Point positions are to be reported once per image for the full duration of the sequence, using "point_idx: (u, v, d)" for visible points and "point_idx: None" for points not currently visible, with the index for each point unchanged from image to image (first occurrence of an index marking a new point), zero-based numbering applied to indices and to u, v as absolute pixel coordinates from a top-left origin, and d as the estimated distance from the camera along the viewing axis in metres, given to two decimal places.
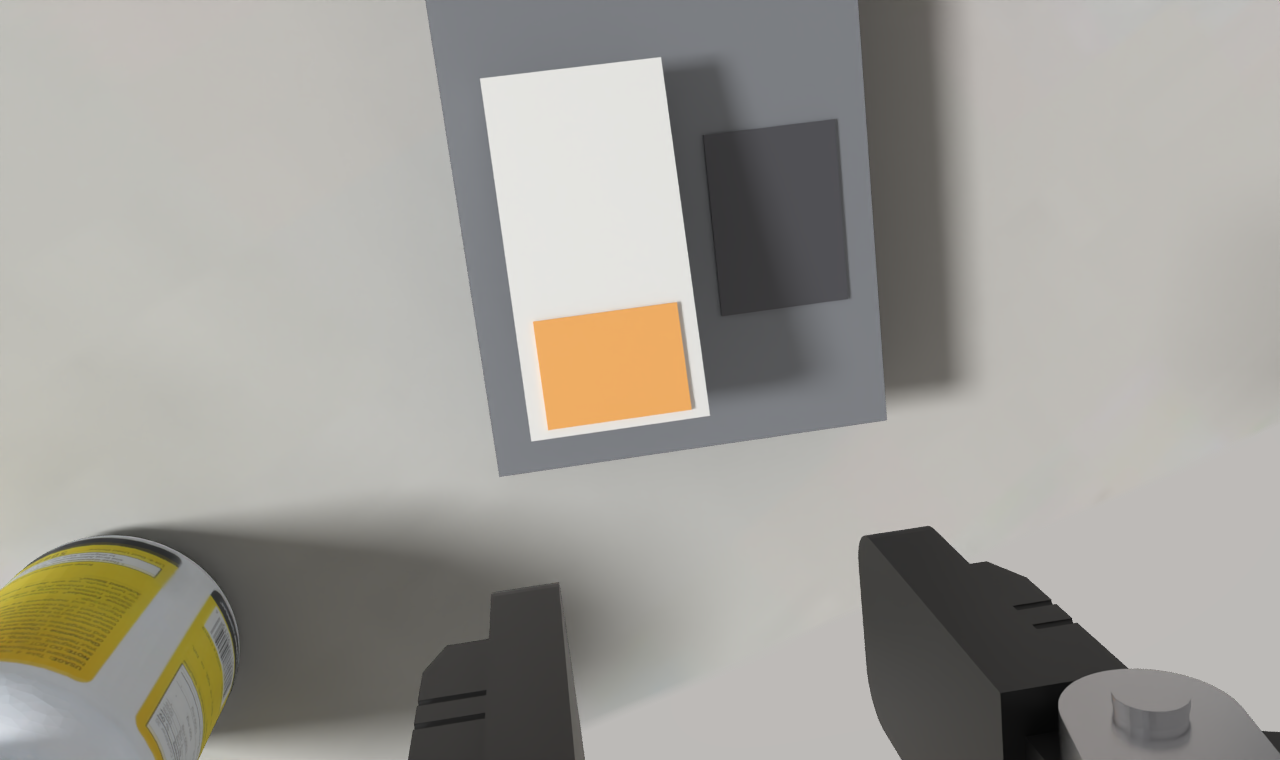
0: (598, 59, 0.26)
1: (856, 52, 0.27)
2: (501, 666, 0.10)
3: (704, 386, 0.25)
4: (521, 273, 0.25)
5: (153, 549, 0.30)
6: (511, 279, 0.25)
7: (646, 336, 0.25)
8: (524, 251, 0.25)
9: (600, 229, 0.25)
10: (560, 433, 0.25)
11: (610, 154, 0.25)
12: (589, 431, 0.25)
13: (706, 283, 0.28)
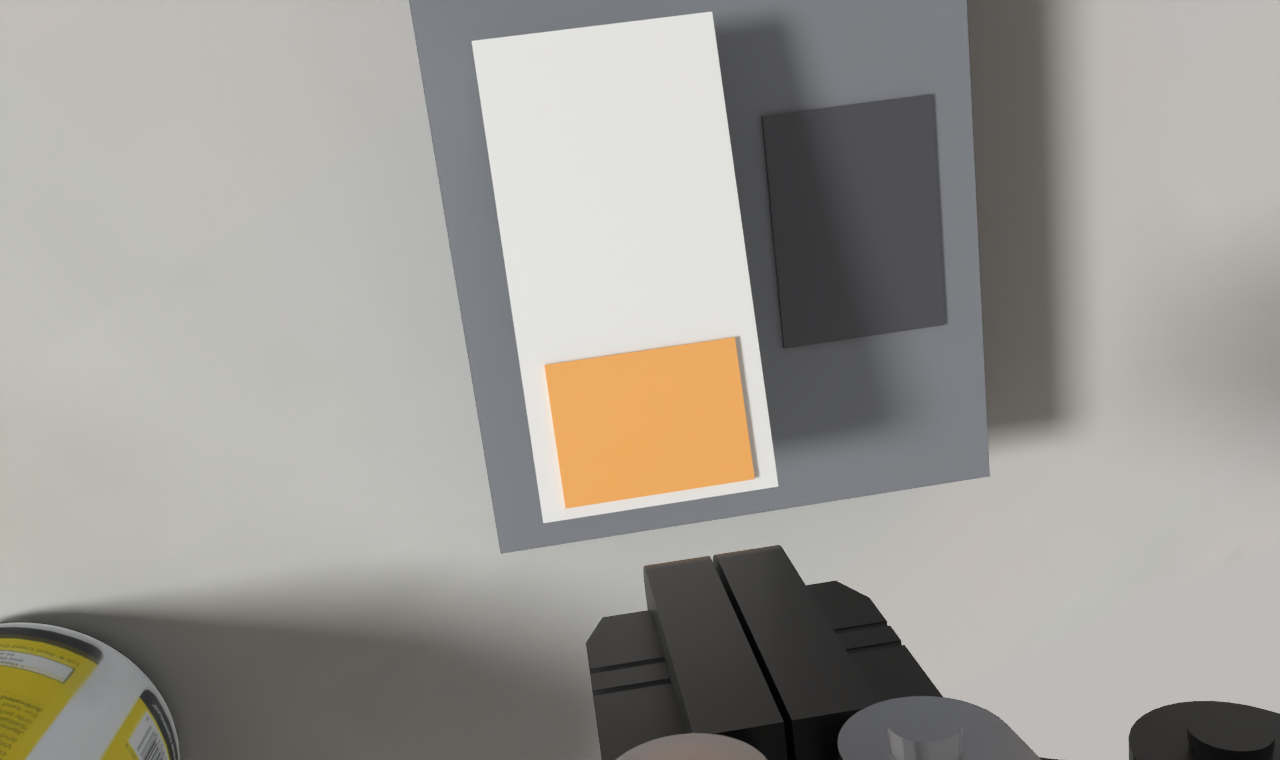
0: (626, 17, 0.20)
1: (960, 7, 0.21)
2: (677, 633, 0.10)
3: (771, 448, 0.19)
4: (528, 300, 0.19)
5: (66, 641, 0.24)
6: (515, 308, 0.19)
7: (695, 383, 0.19)
8: (532, 271, 0.18)
9: (633, 241, 0.19)
10: (581, 512, 0.19)
11: (646, 141, 0.19)
12: (620, 509, 0.19)
13: (764, 307, 0.22)
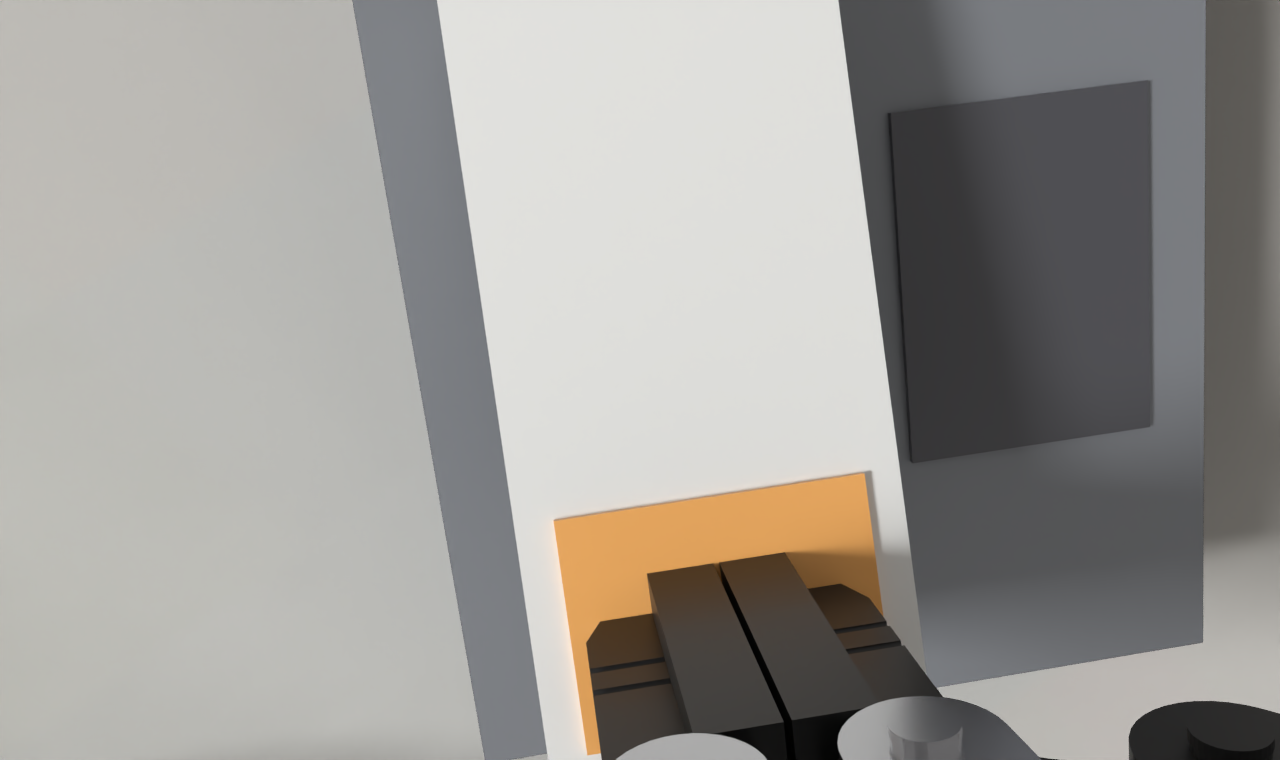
0: None
1: None
2: (678, 634, 0.10)
3: (920, 650, 0.12)
4: (528, 415, 0.11)
5: None
6: (506, 428, 0.11)
7: (799, 549, 0.11)
8: (534, 367, 0.11)
9: (699, 317, 0.11)
10: None
11: (721, 154, 0.11)
12: None
13: None
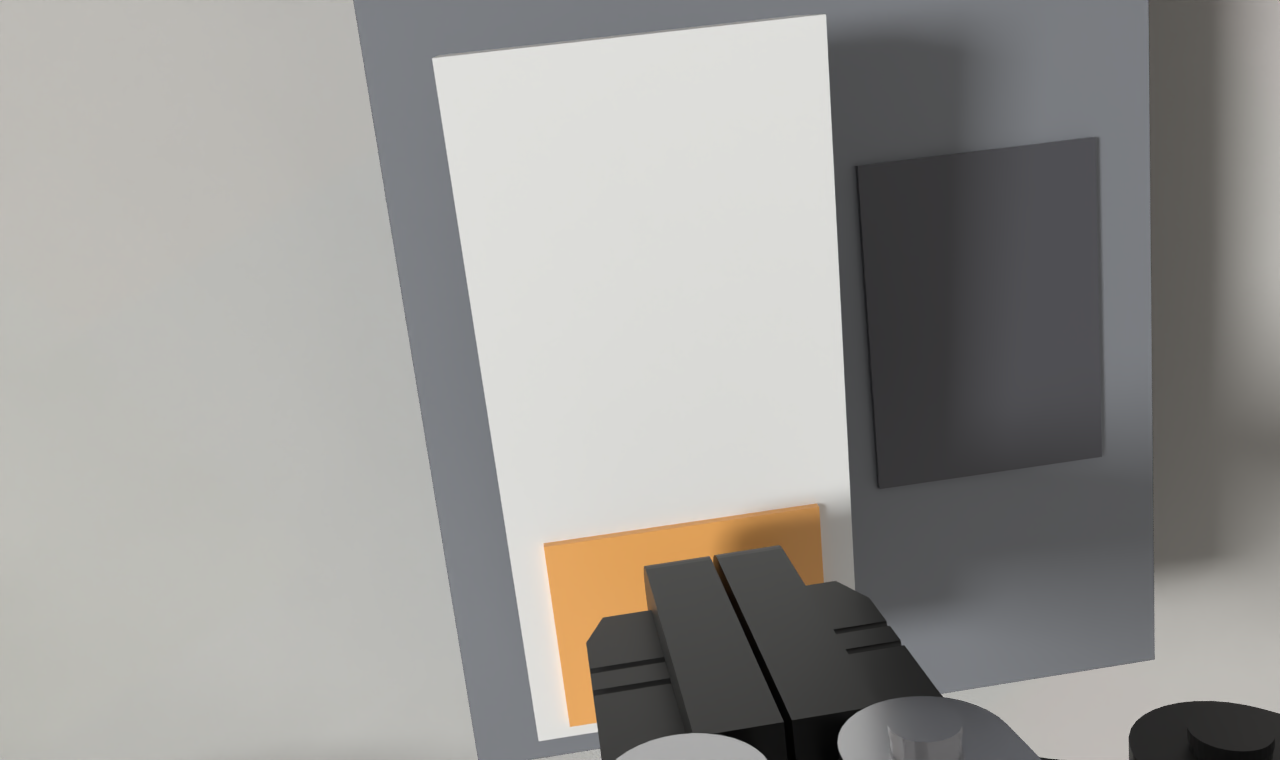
0: (666, 24, 0.14)
1: (1139, 15, 0.15)
2: (678, 633, 0.10)
3: None
4: (521, 457, 0.12)
5: None
6: (502, 468, 0.12)
7: None
8: (528, 416, 0.12)
9: (679, 372, 0.12)
10: (591, 726, 0.14)
11: (707, 224, 0.12)
12: None
13: (852, 431, 0.15)
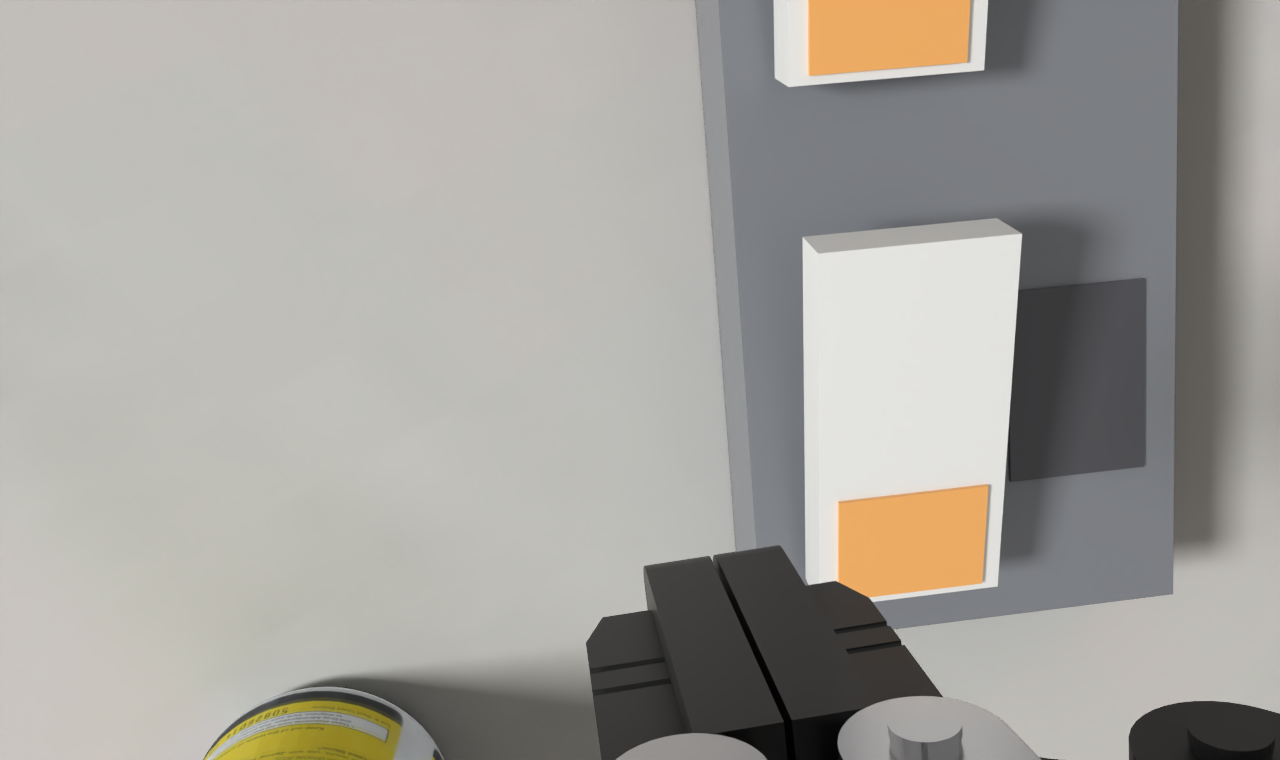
0: (902, 211, 0.24)
1: (1171, 209, 0.25)
2: (678, 634, 0.10)
3: (997, 560, 0.24)
4: (833, 456, 0.23)
5: (374, 705, 0.28)
6: (821, 461, 0.23)
7: (950, 518, 0.24)
8: (840, 434, 0.23)
9: (922, 413, 0.23)
10: None
11: (947, 337, 0.22)
12: (877, 599, 0.24)
13: None
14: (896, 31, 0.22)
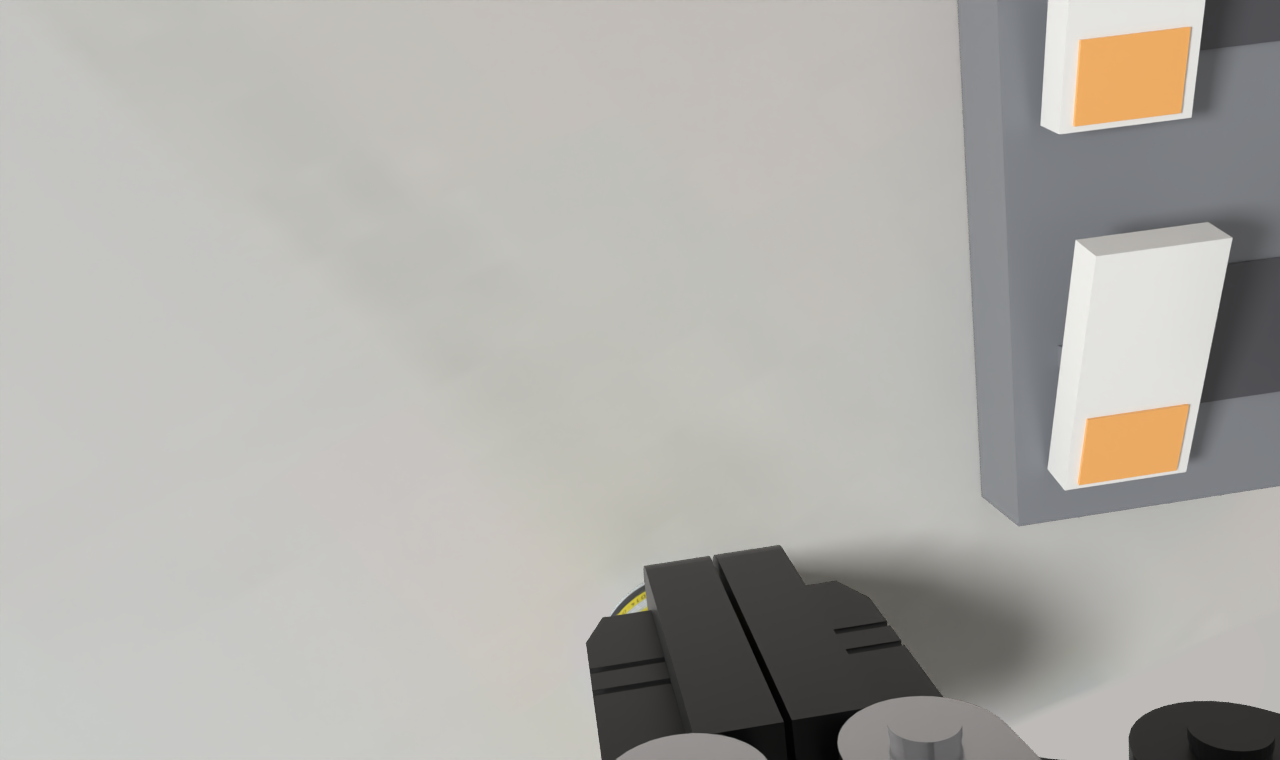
0: (1123, 214, 0.35)
1: None
2: (678, 633, 0.10)
3: (1188, 454, 0.35)
4: (1088, 388, 0.33)
5: None
6: (1080, 392, 0.33)
7: (1161, 427, 0.34)
8: (1094, 374, 0.33)
9: (1151, 358, 0.33)
10: (1084, 485, 0.35)
11: (1174, 308, 0.32)
12: (1104, 483, 0.35)
13: None
14: (1135, 94, 0.32)
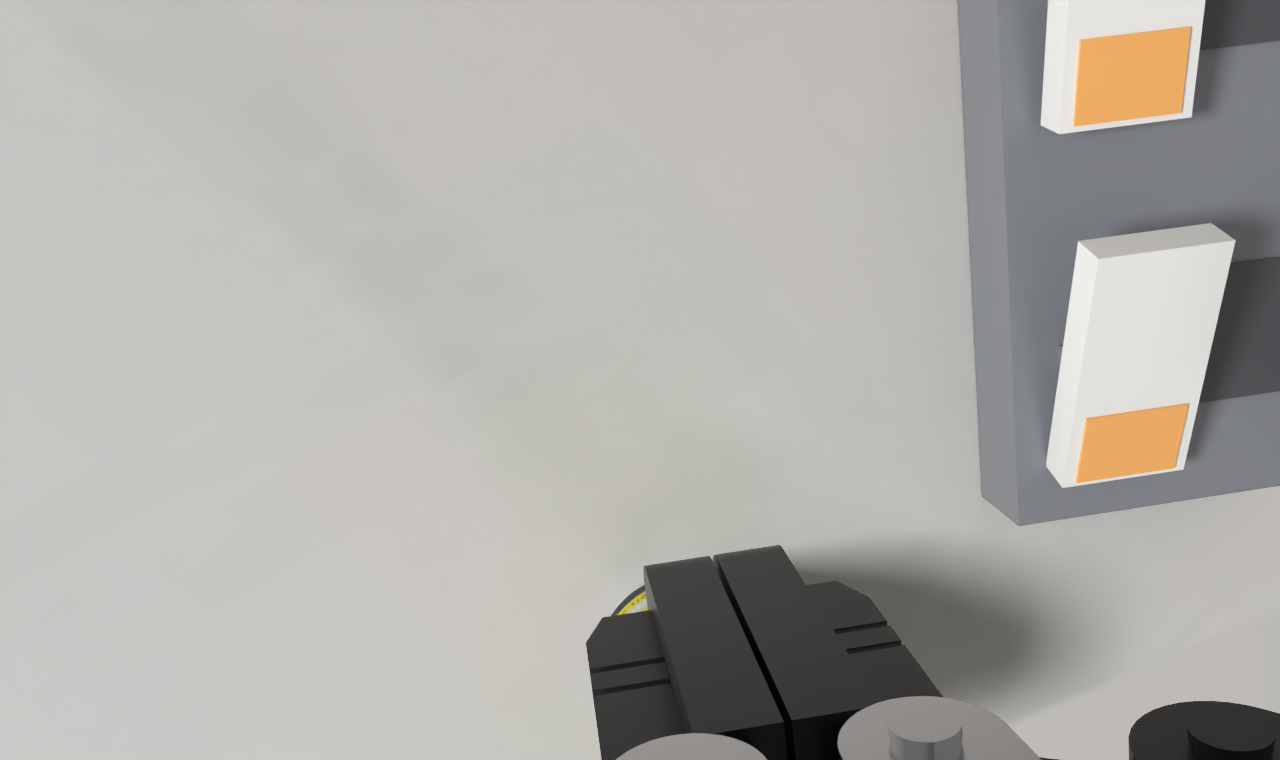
0: (1123, 213, 0.35)
1: None
2: (678, 634, 0.10)
3: (1186, 452, 0.35)
4: (1087, 388, 0.33)
5: None
6: (1079, 392, 0.33)
7: (1160, 426, 0.34)
8: (1094, 374, 0.33)
9: (1151, 359, 0.33)
10: (1082, 482, 0.35)
11: (1175, 309, 0.32)
12: (1102, 481, 0.35)
13: None
14: (1135, 94, 0.32)
